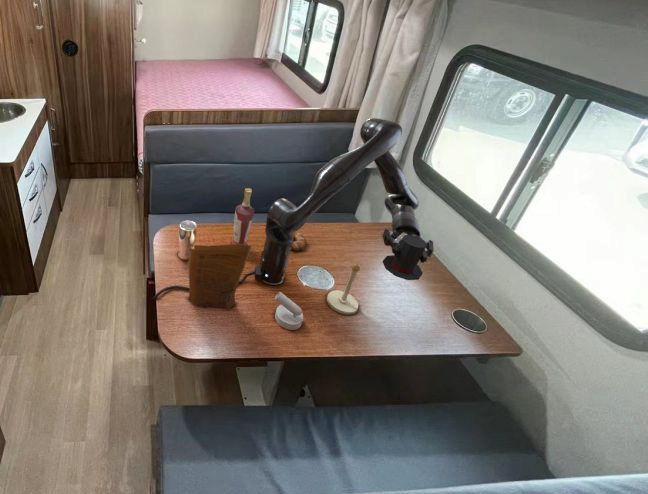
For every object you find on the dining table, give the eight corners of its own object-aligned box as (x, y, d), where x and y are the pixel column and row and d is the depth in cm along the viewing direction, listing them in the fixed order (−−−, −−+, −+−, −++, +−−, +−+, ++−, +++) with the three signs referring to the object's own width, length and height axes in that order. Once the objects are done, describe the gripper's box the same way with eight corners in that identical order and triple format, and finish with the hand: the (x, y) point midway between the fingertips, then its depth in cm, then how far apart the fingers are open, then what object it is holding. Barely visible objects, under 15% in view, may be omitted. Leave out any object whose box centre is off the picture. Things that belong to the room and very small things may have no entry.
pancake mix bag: (240, 314, 133) (252, 251, 118) (184, 308, 135) (189, 245, 120) (238, 298, 139) (250, 237, 124) (184, 293, 141) (190, 232, 126)
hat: (389, 277, 120) (401, 250, 115) (378, 253, 130) (390, 227, 124) (427, 283, 119) (441, 255, 113) (413, 258, 128) (426, 232, 122)
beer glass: (197, 253, 159) (200, 223, 151) (189, 263, 154) (192, 233, 146) (182, 247, 162) (184, 218, 154) (174, 256, 157) (175, 227, 149)
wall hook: (280, 283, 132) (310, 296, 128) (275, 303, 137) (304, 315, 133) (272, 300, 126) (304, 313, 121) (267, 320, 131) (298, 334, 126)
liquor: (249, 252, 160) (260, 195, 145) (231, 252, 160) (240, 195, 145) (245, 241, 166) (255, 185, 152) (228, 240, 166) (237, 184, 152)
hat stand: (329, 311, 134) (344, 273, 125) (324, 290, 143) (337, 252, 133) (360, 316, 133) (377, 278, 123) (353, 295, 141) (369, 257, 132)
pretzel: (291, 255, 159) (293, 248, 157) (271, 240, 167) (273, 233, 165) (311, 246, 164) (313, 239, 162) (291, 232, 172) (293, 225, 170)
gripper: (385, 212, 133) (387, 240, 120) (434, 223, 127) (442, 254, 114) (377, 229, 136) (379, 259, 123) (425, 241, 131) (432, 273, 118)
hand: (410, 256), depth 119 cm, fingers closed on hat, 6 cm apart
